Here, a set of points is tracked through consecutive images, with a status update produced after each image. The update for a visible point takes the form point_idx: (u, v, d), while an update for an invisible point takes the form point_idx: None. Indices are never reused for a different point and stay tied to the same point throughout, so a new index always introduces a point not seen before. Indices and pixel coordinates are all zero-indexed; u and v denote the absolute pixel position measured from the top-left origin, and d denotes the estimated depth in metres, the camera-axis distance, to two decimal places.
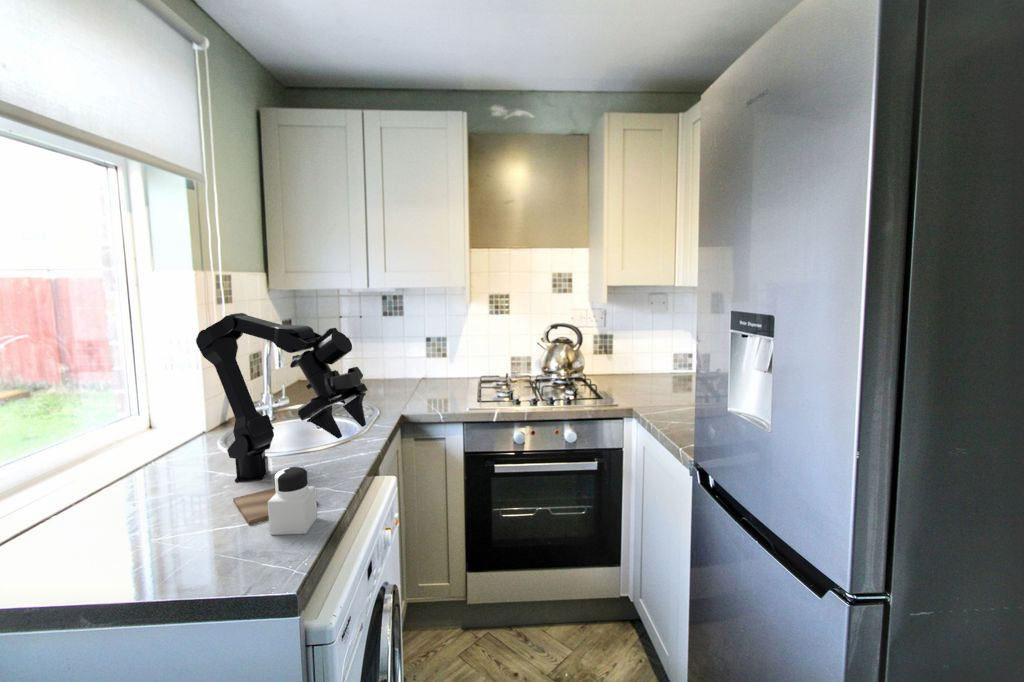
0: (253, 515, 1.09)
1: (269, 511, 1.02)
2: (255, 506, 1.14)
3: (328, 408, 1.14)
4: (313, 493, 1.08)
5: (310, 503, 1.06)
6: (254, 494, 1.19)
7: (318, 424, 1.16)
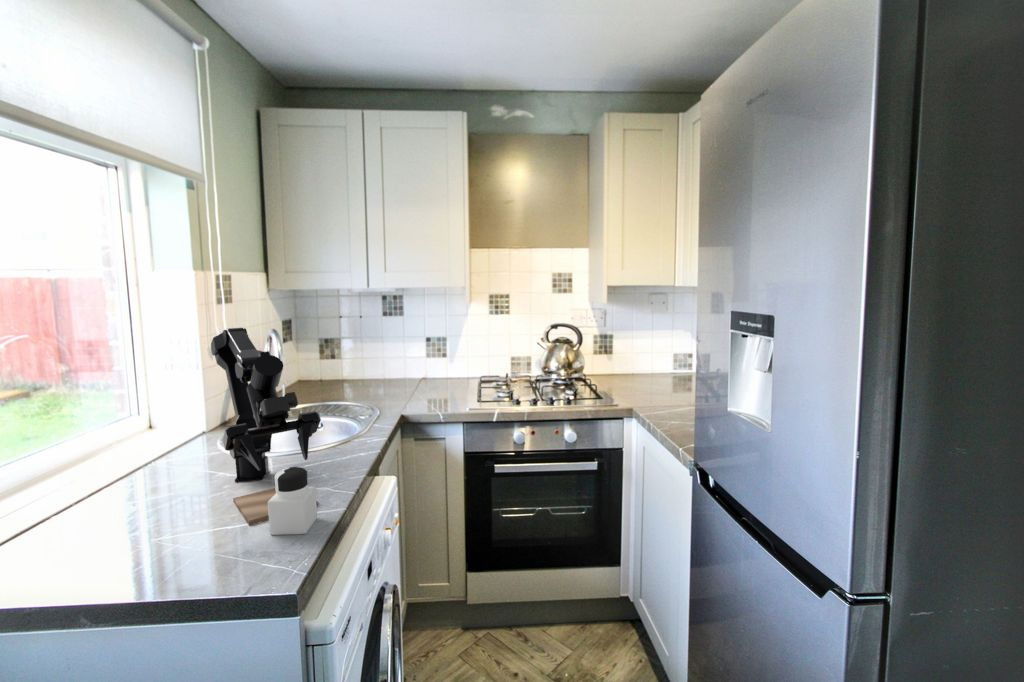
0: (253, 515, 1.09)
1: (269, 511, 1.02)
2: (255, 506, 1.14)
3: (244, 436, 1.05)
4: (313, 493, 1.08)
5: (310, 503, 1.06)
6: (254, 494, 1.19)
7: (244, 454, 1.08)
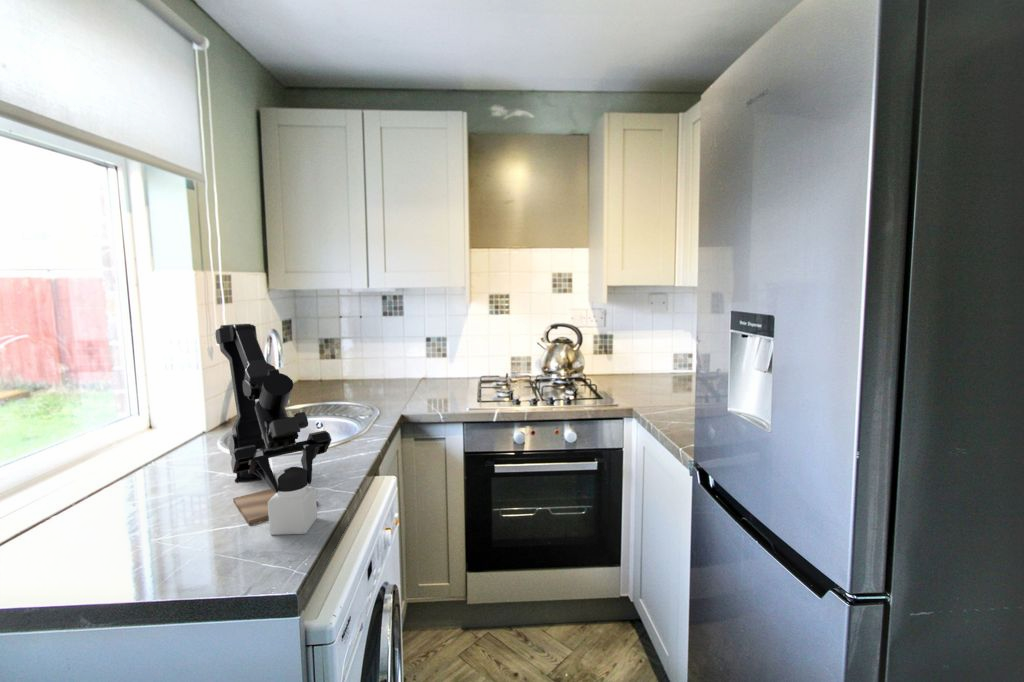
0: (253, 515, 1.09)
1: (269, 511, 1.02)
2: (255, 506, 1.14)
3: (260, 457, 1.02)
4: (313, 493, 1.08)
5: (310, 503, 1.06)
6: (254, 494, 1.19)
7: (260, 476, 1.05)
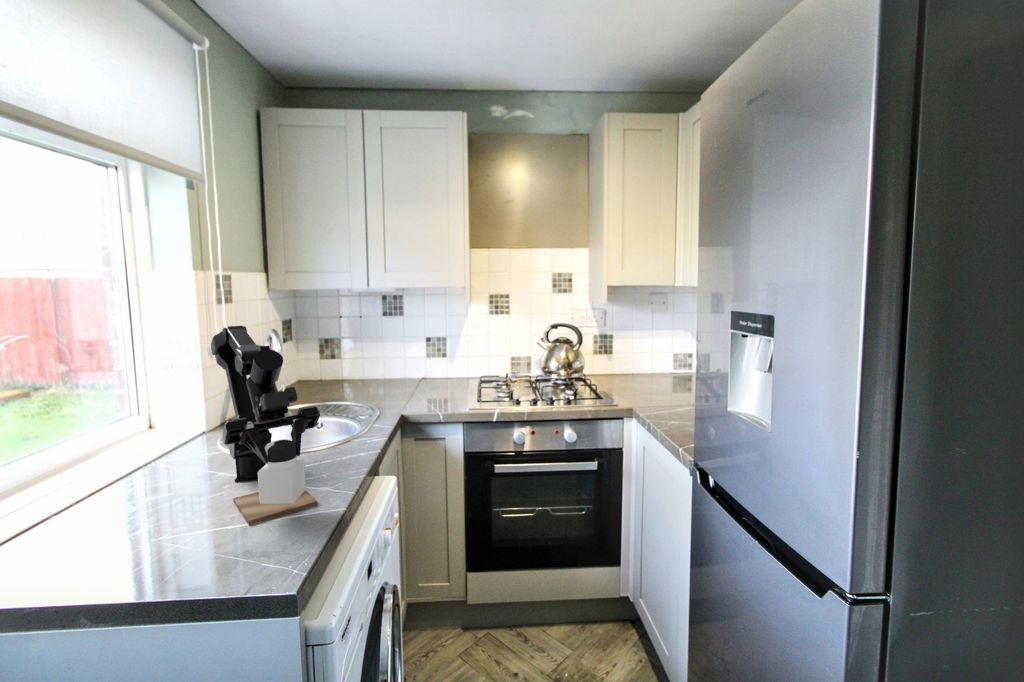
0: (253, 515, 1.09)
1: (259, 481, 1.06)
2: (255, 506, 1.14)
3: (251, 429, 1.06)
4: (302, 465, 1.12)
5: (299, 475, 1.10)
6: (254, 494, 1.19)
7: (250, 447, 1.09)
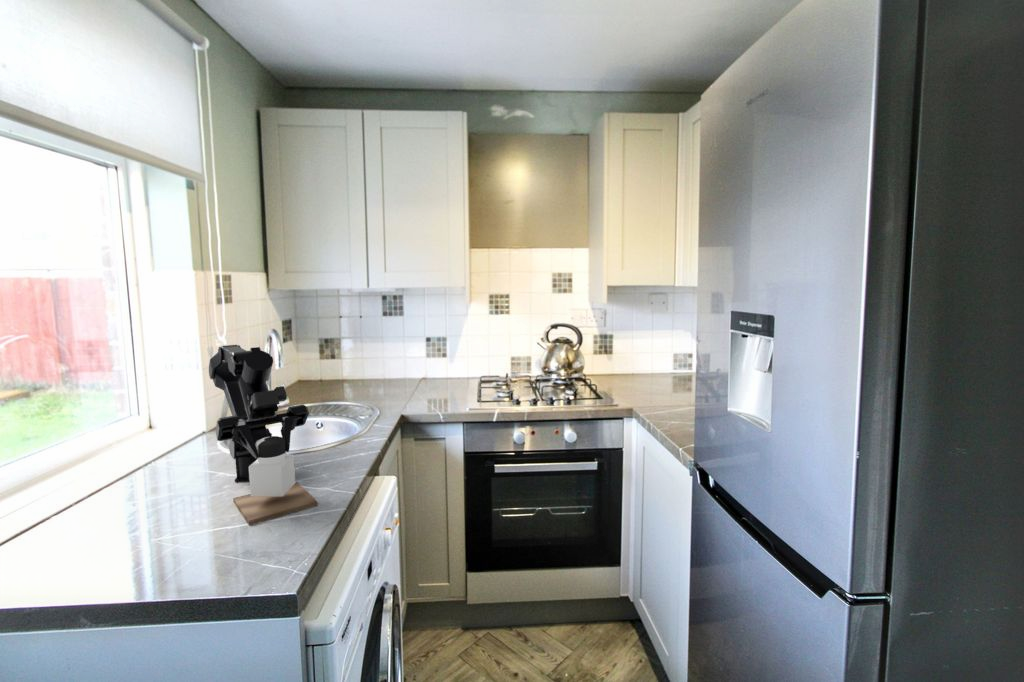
0: (253, 515, 1.09)
1: (250, 475, 1.12)
2: (255, 506, 1.14)
3: (242, 426, 1.12)
4: (291, 460, 1.18)
5: (288, 469, 1.16)
6: None
7: (242, 443, 1.14)
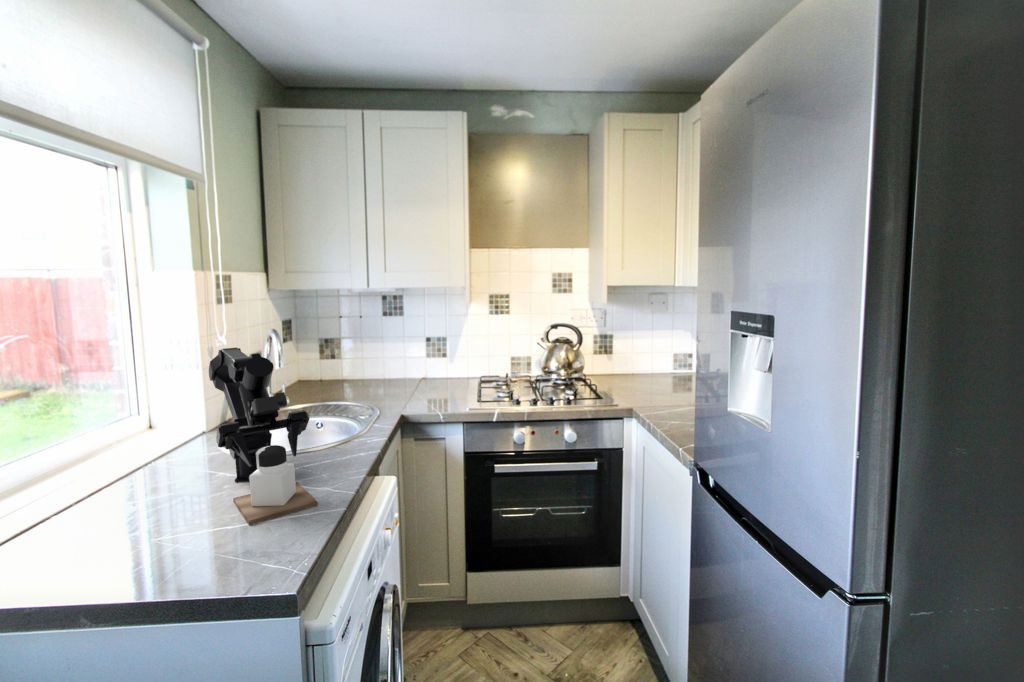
0: (253, 515, 1.09)
1: (250, 484, 1.12)
2: (255, 506, 1.14)
3: (235, 434, 1.11)
4: (292, 469, 1.18)
5: (289, 478, 1.16)
6: None
7: (235, 451, 1.14)
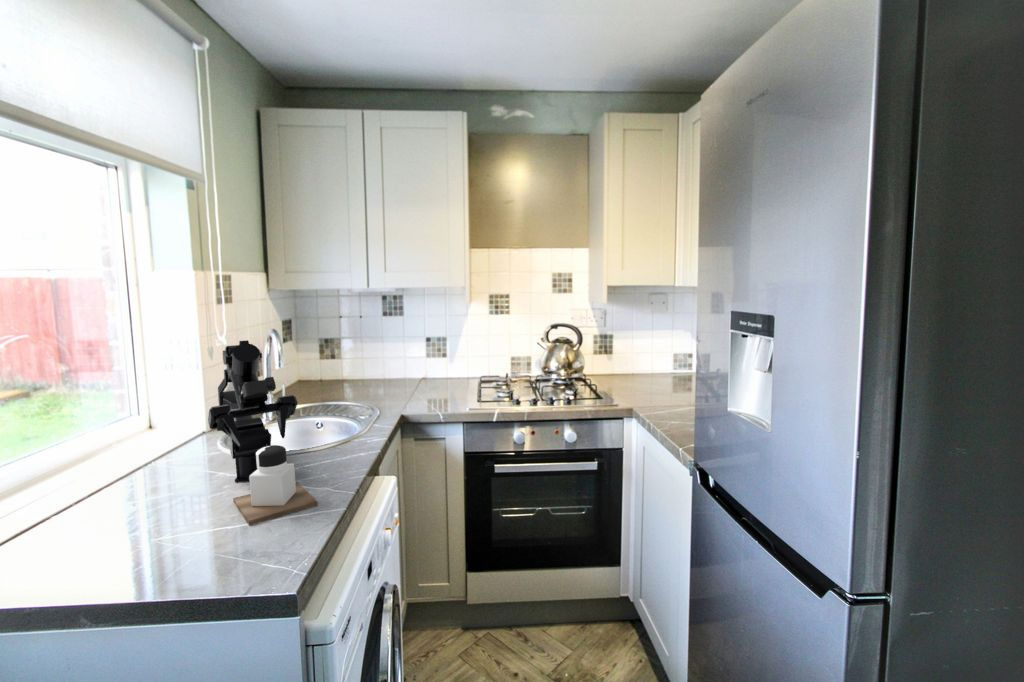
0: (253, 515, 1.09)
1: (251, 484, 1.12)
2: (255, 506, 1.14)
3: (226, 416, 1.17)
4: (292, 469, 1.18)
5: (289, 478, 1.16)
6: None
7: (226, 433, 1.19)
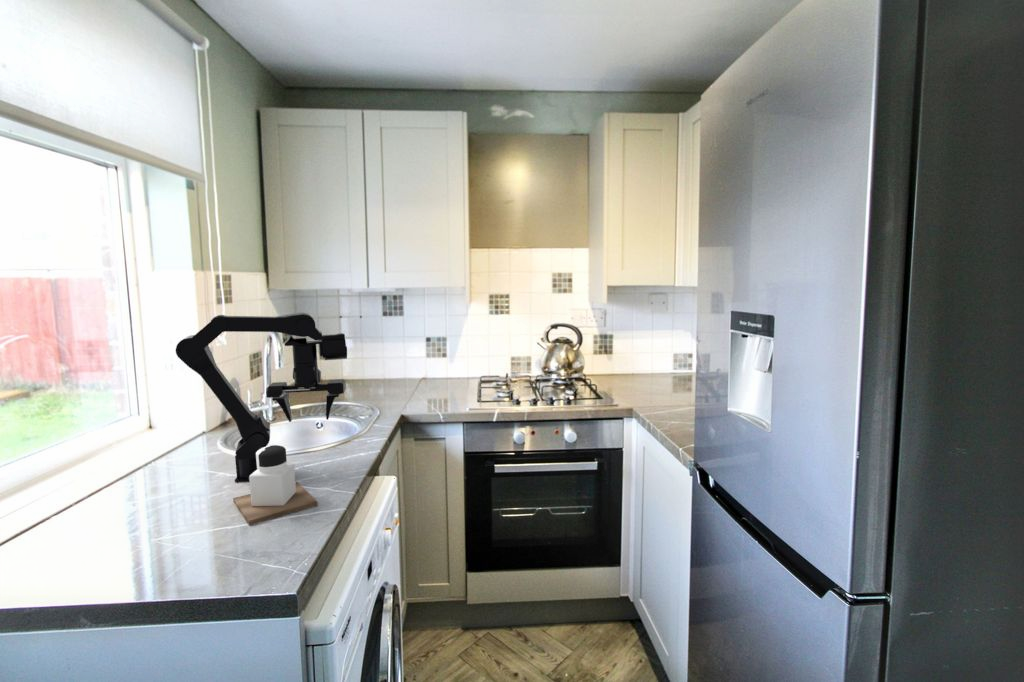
0: (253, 515, 1.09)
1: (251, 484, 1.12)
2: (255, 506, 1.14)
3: None
4: (292, 469, 1.18)
5: (289, 478, 1.16)
6: None
7: None
